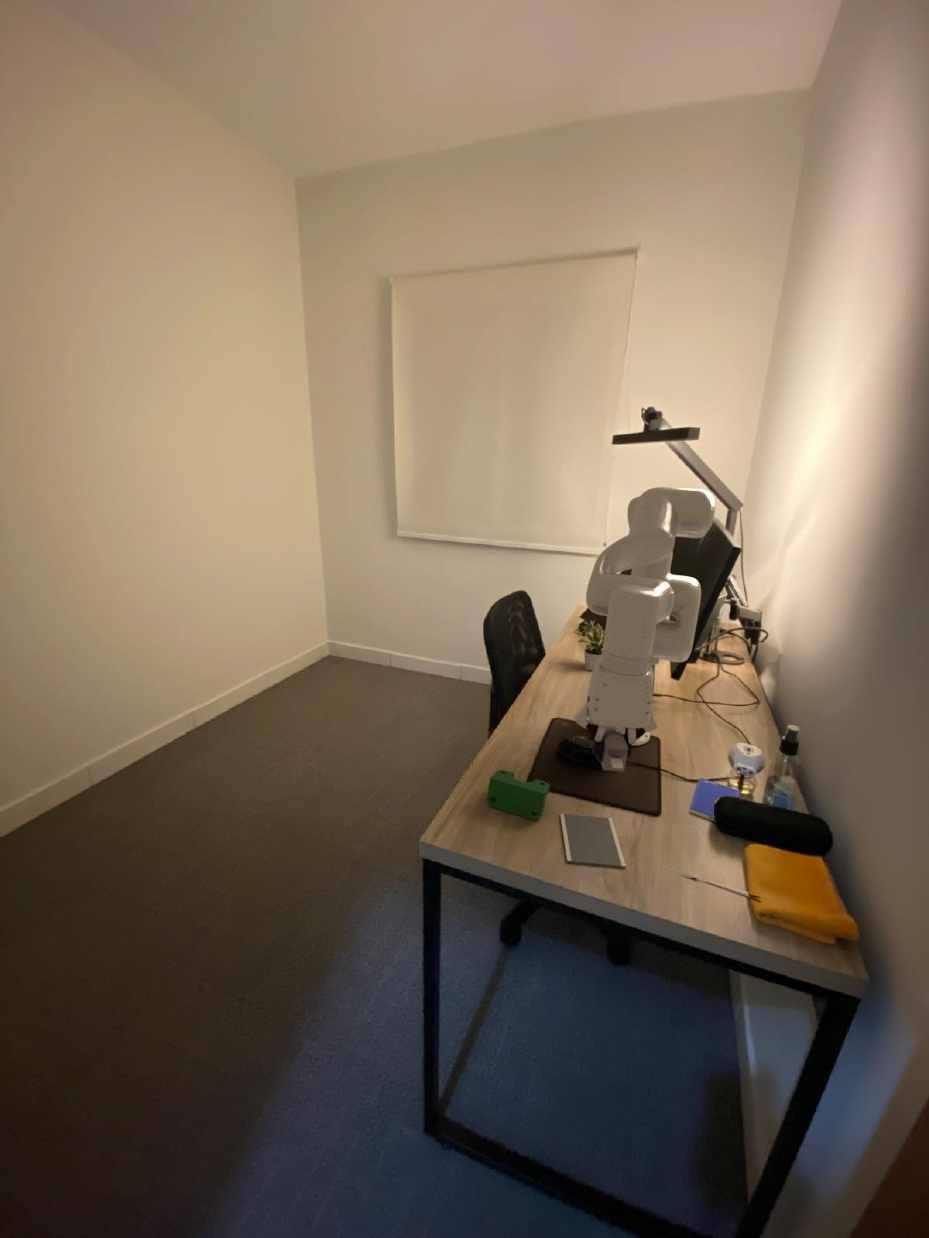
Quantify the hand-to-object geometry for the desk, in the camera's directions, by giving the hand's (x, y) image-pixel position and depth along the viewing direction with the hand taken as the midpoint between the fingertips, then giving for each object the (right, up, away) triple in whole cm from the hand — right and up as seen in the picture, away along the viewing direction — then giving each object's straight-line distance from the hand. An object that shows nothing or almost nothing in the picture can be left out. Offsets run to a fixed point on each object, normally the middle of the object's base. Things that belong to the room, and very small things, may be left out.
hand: (610, 757), depth 85 cm
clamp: (-15, -14, +14) cm, 24 cm away
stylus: (+14, -20, -2) cm, 25 cm away
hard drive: (+27, -15, +17) cm, 35 cm away
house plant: (+18, +8, +83) cm, 85 cm away
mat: (-2, -17, +5) cm, 18 cm away
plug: (0, 0, 0) cm, 1 cm away
